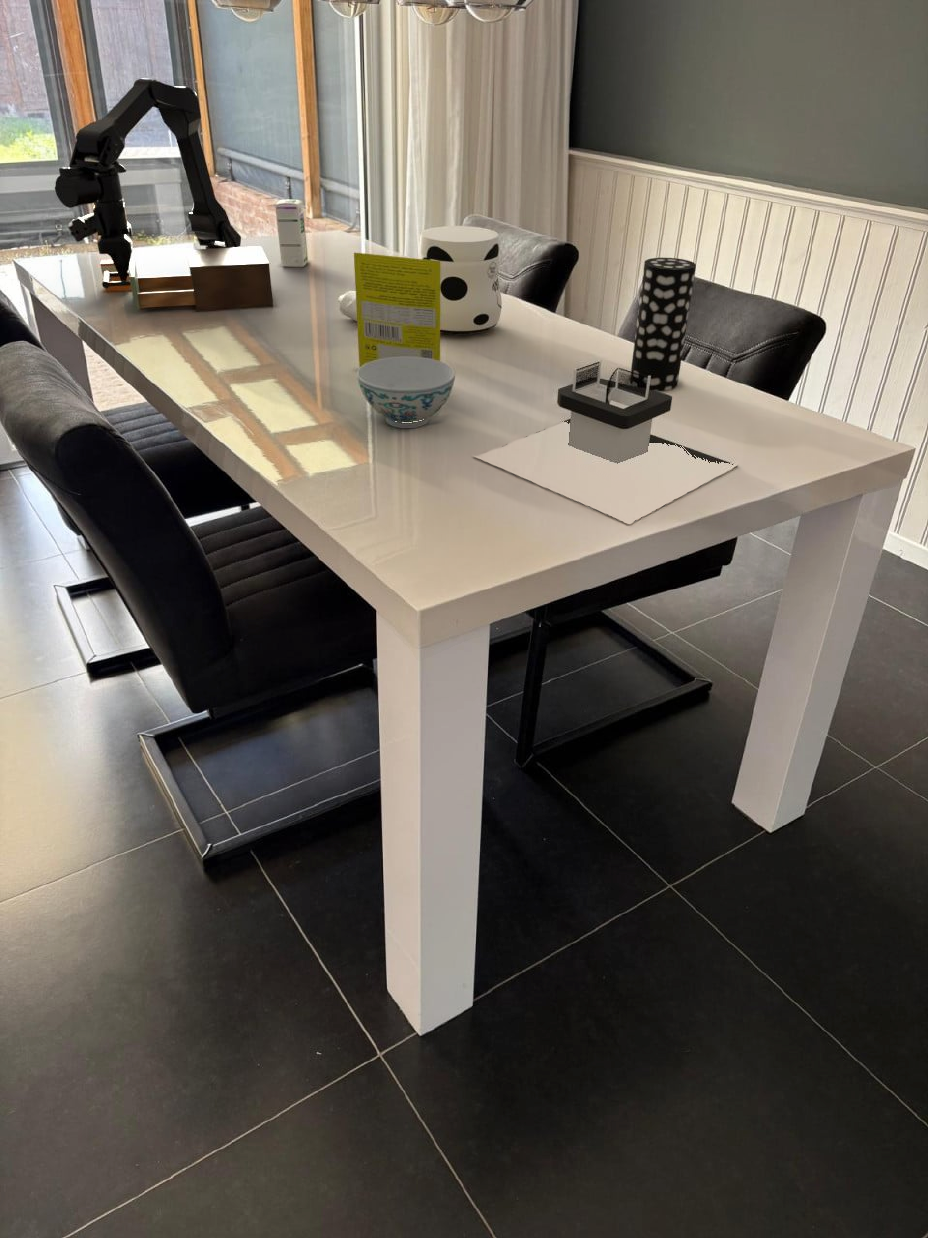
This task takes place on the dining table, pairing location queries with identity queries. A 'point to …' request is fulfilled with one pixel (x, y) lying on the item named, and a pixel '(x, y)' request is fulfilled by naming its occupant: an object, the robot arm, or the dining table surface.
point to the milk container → (465, 276)
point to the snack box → (110, 267)
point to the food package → (397, 307)
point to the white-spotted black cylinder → (662, 321)
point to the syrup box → (291, 233)
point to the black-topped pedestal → (615, 415)
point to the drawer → (155, 288)
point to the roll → (348, 305)
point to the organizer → (230, 278)
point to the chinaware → (406, 388)
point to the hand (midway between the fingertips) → (123, 280)
